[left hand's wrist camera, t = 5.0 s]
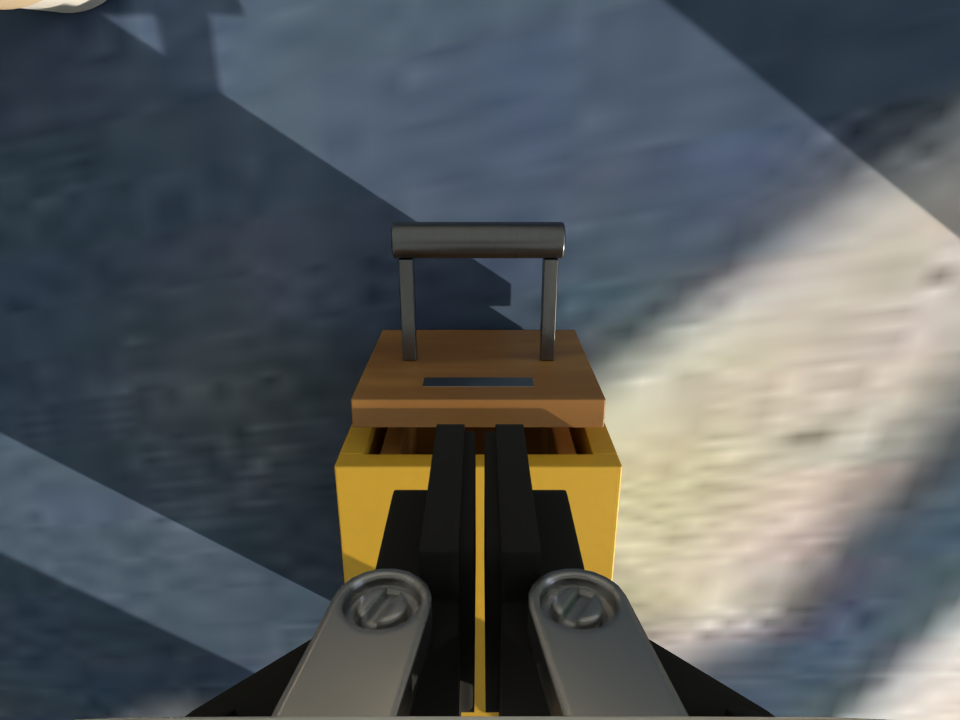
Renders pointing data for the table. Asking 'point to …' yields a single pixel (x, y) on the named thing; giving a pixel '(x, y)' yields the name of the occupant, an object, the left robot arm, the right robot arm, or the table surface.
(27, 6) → the coffee cup
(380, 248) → the table surface
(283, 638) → the table surface
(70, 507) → the table surface
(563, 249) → the drawer
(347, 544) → the cabinet
